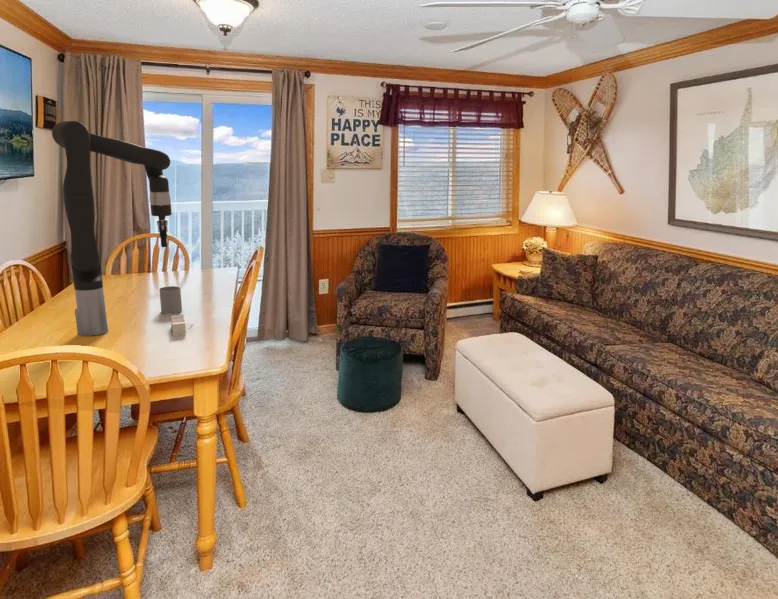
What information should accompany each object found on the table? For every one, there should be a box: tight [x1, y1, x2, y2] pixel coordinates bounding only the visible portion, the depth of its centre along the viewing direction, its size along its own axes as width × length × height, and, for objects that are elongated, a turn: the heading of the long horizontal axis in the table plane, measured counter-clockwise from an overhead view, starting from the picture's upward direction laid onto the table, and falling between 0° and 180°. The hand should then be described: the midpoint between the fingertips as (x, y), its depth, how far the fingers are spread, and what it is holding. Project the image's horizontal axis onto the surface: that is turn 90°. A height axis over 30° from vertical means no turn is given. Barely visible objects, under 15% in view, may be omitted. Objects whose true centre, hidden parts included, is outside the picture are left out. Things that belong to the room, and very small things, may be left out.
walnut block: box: [170, 314, 187, 337], centre depth 205 cm, size 4×4×12 cm
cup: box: [159, 285, 183, 314], centre depth 231 cm, size 8×8×10 cm
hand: (164, 246), depth 218 cm, fingers closed
